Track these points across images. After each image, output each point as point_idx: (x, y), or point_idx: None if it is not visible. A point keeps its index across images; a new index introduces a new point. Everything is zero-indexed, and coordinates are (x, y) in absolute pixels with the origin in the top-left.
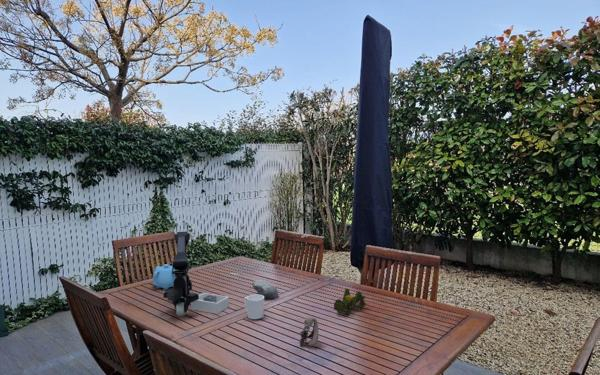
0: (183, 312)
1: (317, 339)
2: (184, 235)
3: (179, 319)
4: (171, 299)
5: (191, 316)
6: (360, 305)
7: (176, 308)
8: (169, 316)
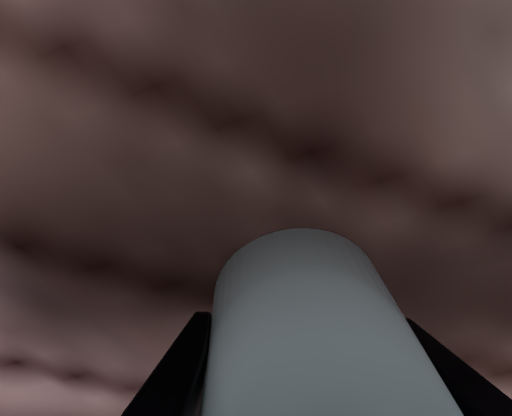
0: (220, 304)
1: None
2: None
3: (144, 65)
4: None
5: (48, 267)
6: None
7: (410, 346)
8: (460, 139)
